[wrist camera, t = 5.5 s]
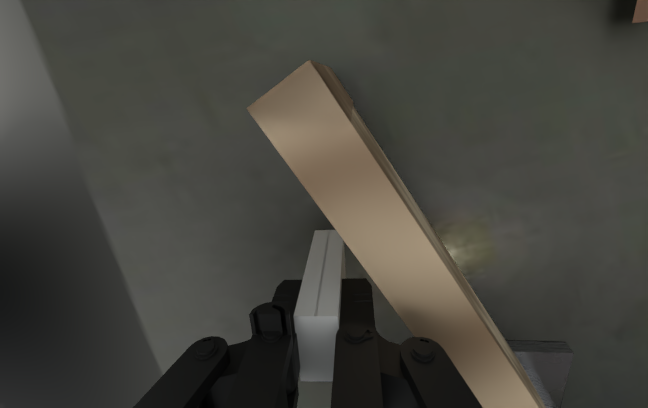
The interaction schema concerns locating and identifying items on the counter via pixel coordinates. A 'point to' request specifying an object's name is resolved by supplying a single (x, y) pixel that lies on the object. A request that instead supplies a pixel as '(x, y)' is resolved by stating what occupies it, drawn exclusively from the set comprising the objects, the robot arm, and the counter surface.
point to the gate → (388, 230)
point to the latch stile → (641, 11)
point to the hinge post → (545, 367)
